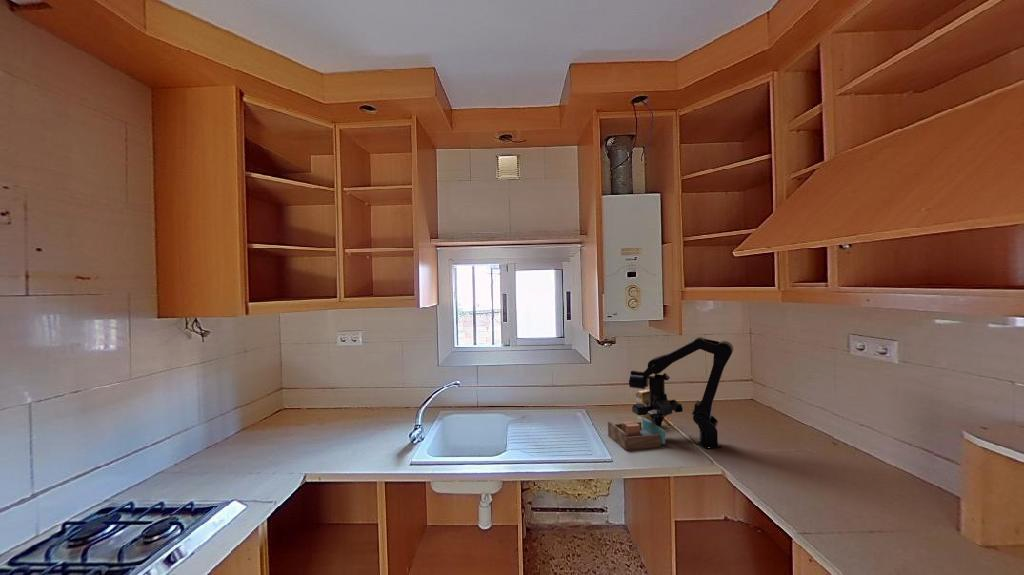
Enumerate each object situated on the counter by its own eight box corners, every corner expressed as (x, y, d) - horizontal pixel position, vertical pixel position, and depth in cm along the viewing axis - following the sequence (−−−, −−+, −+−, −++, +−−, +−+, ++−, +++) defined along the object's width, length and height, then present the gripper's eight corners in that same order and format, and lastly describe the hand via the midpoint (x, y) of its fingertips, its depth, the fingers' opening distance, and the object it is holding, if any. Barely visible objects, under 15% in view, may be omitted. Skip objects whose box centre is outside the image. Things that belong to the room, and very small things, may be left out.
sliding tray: (665, 443, 171) (665, 430, 171) (629, 447, 169) (629, 433, 169) (645, 430, 187) (644, 417, 187) (612, 433, 184) (611, 420, 184)
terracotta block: (640, 438, 175) (639, 425, 175) (627, 439, 175) (627, 426, 174) (634, 434, 180) (634, 421, 180) (622, 435, 179) (621, 422, 179)
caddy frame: (661, 446, 171) (661, 431, 171) (625, 450, 168) (625, 434, 168) (641, 432, 187) (641, 418, 187) (608, 436, 184) (607, 421, 184)
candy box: (643, 429, 191) (642, 392, 191) (636, 426, 195) (635, 390, 195) (659, 426, 195) (658, 389, 195) (652, 423, 199) (651, 387, 199)
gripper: (644, 397, 171) (645, 439, 171) (690, 393, 174) (691, 434, 174) (631, 390, 182) (631, 429, 182) (674, 386, 185) (675, 425, 185)
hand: (657, 430), depth 181 cm, fingers closed
